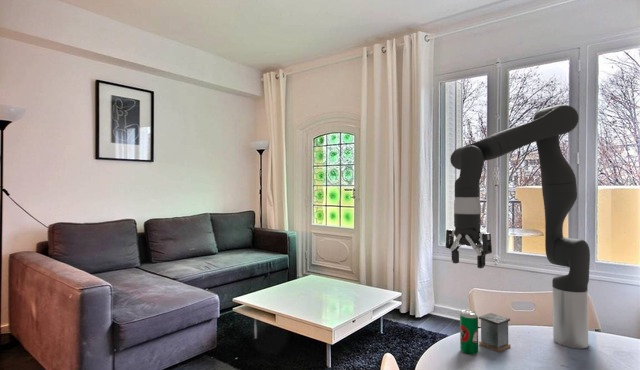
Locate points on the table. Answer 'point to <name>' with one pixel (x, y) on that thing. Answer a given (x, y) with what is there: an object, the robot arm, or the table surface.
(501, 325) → the service unit
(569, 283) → the robot arm
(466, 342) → the soda can
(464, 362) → the table surface
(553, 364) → the table surface
